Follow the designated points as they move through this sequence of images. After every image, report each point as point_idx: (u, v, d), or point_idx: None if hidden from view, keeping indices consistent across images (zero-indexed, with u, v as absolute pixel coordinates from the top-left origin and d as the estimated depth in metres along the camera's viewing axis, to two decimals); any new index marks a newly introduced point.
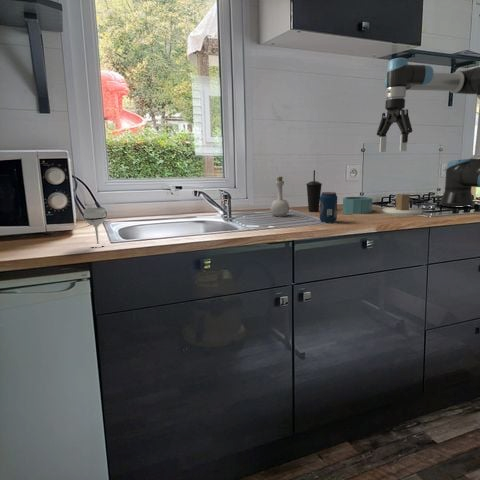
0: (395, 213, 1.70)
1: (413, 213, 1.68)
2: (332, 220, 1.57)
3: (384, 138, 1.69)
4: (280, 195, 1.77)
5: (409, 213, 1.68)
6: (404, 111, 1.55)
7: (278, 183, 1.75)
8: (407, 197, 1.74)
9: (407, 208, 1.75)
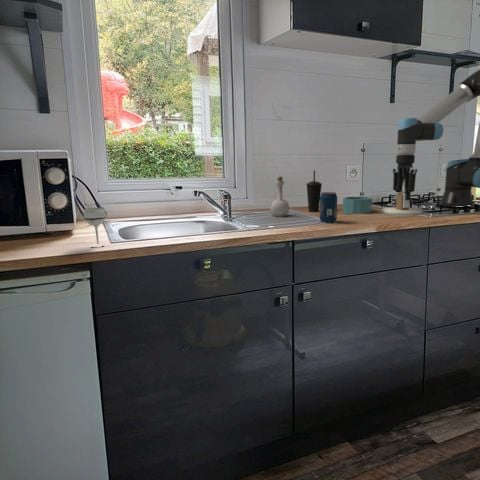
0: (395, 213, 1.70)
1: (413, 213, 1.68)
2: (332, 220, 1.57)
3: (400, 193, 1.77)
4: (280, 195, 1.77)
5: (409, 213, 1.68)
6: (413, 172, 1.67)
7: (278, 183, 1.75)
8: None
9: (407, 208, 1.75)
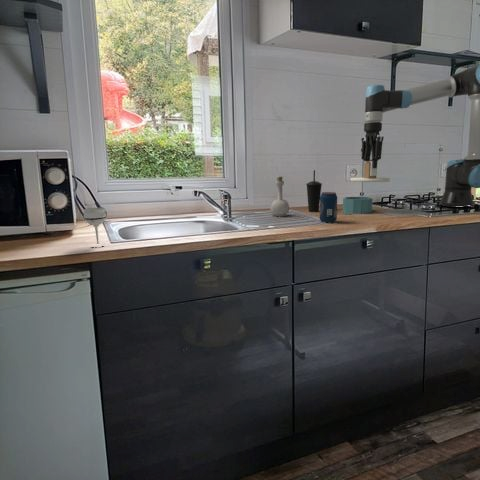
0: (362, 180, 1.71)
1: (379, 180, 1.69)
2: (332, 220, 1.57)
3: (368, 162, 1.78)
4: (280, 195, 1.77)
5: (375, 180, 1.69)
6: (379, 139, 1.67)
7: (278, 183, 1.75)
8: None
9: (374, 176, 1.75)
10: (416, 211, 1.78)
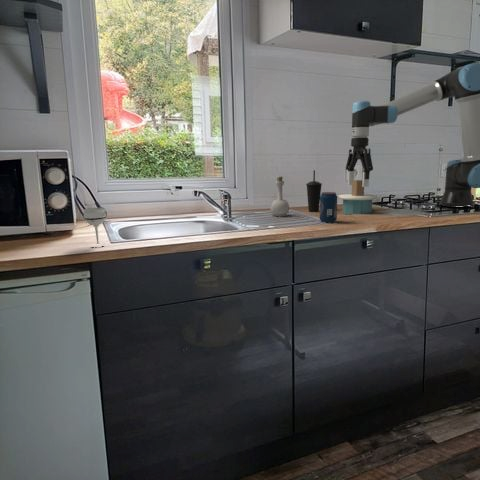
0: (349, 198, 1.74)
1: (366, 198, 1.72)
2: (332, 220, 1.57)
3: (352, 172, 1.84)
4: (280, 195, 1.77)
5: (363, 198, 1.72)
6: (367, 150, 1.69)
7: (278, 183, 1.75)
8: (362, 183, 1.77)
9: (362, 194, 1.79)
10: (416, 211, 1.78)
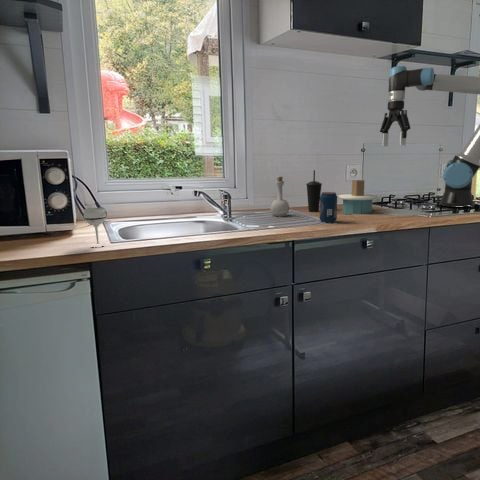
0: (349, 198, 1.74)
1: (366, 198, 1.72)
2: (332, 220, 1.57)
3: (386, 134, 1.98)
4: (280, 195, 1.77)
5: (363, 198, 1.72)
6: (403, 111, 1.83)
7: (278, 183, 1.75)
8: (362, 183, 1.77)
9: (362, 194, 1.79)
10: (416, 211, 1.78)
